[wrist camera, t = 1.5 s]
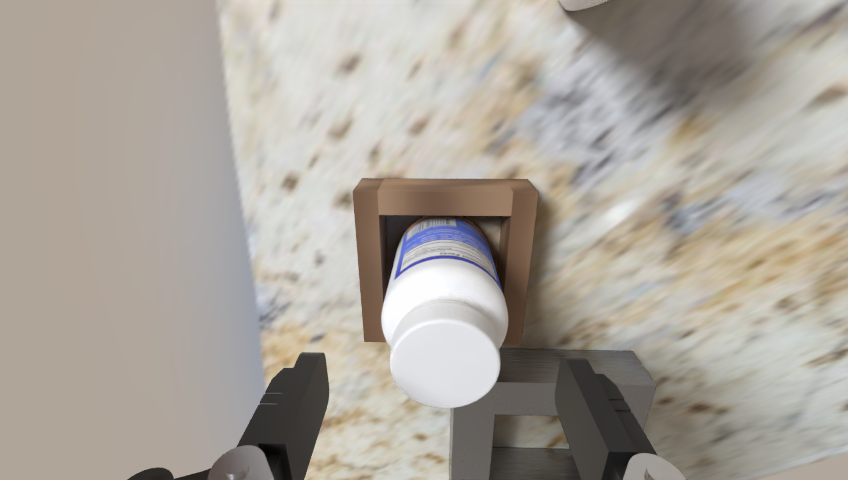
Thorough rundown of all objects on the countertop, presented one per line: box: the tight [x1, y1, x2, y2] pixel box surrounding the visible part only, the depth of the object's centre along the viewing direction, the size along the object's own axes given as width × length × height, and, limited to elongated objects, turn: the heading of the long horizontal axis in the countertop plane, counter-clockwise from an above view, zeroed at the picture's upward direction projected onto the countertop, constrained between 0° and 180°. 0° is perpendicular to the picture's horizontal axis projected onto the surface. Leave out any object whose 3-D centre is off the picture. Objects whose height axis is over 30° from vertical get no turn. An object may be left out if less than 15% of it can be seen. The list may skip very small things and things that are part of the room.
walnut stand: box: [353, 178, 539, 345], centre depth 22 cm, size 9×9×2 cm
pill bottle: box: [381, 215, 508, 408], centre depth 18 cm, size 5×5×10 cm
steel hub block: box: [449, 349, 656, 480], centre depth 26 cm, size 12×12×3 cm
